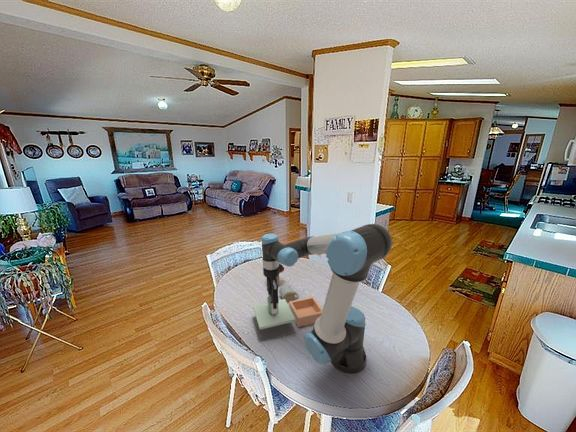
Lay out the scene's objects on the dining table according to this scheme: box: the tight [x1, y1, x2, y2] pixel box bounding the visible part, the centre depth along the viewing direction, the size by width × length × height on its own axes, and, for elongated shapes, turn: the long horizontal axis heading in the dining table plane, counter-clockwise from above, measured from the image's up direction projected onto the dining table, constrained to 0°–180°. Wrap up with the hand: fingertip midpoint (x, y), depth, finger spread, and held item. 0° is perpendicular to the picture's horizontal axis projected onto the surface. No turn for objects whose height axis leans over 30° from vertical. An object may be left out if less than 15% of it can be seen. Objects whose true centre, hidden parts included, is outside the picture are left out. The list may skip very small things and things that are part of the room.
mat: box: [251, 315, 297, 343], centre depth 129 cm, size 18×18×1 cm
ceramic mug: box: [278, 283, 300, 303], centre depth 149 cm, size 11×8×8 cm
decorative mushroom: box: [276, 263, 285, 285], centre depth 163 cm, size 11×11×15 cm
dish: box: [288, 296, 323, 329], centre depth 134 cm, size 14×14×6 cm
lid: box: [252, 295, 295, 330], centre depth 125 cm, size 17×17×9 cm
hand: (273, 309), depth 126 cm, fingers closed on lid, 5 cm apart
